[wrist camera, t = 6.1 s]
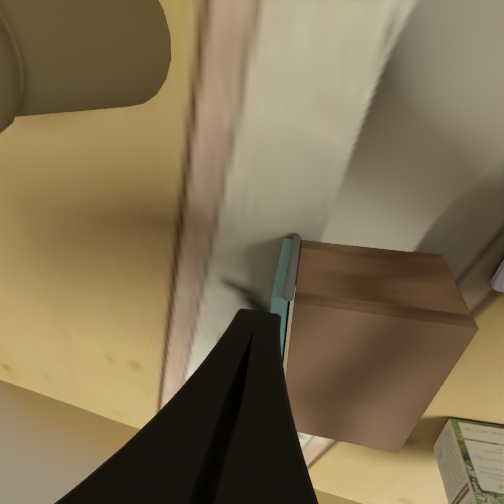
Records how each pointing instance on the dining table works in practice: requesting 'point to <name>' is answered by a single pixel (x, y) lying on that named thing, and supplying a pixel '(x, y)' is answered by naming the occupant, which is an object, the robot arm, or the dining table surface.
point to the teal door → (285, 284)
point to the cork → (80, 55)
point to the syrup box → (471, 462)
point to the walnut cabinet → (371, 341)
